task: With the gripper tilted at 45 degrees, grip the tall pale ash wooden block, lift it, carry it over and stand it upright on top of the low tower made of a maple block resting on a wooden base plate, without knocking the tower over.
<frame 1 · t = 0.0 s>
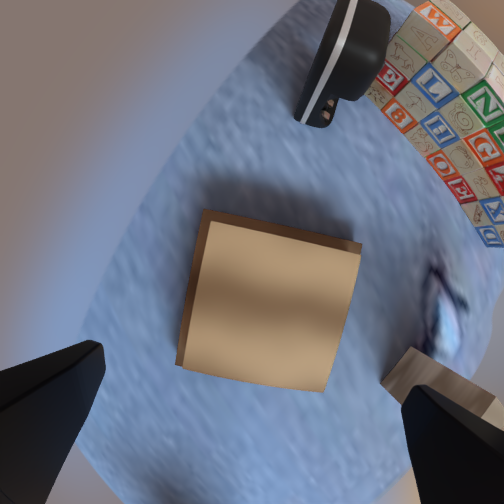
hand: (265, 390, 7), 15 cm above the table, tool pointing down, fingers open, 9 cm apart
stack of blocks: (444, 152, 23), on the table
ash block: (408, 375, 23), on the table
battery charger: (322, 100, 22), on the table
maple block: (268, 307, 21), point 2 cm above the table, touching wooden base plate
wooden base plate: (266, 301, 23), on the table, touching maple block
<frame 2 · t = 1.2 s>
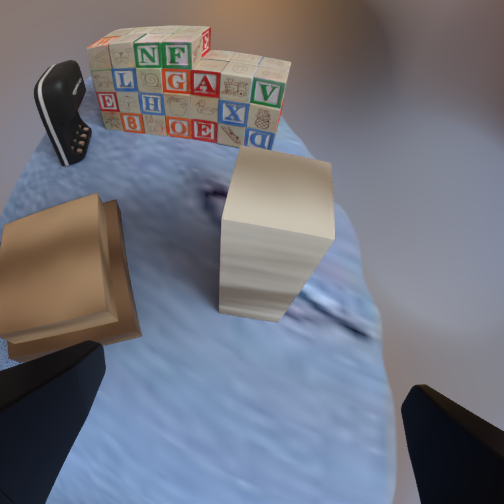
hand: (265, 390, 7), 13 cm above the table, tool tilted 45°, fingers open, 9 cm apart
stack of blocks: (188, 125, 32), on the table
ash block: (252, 290, 23), on the table
battery charger: (81, 148, 29), on the table
maple block: (56, 275, 19), point 2 cm above the table, touching wooden base plate
wooden base plate: (69, 287, 21), on the table, touching maple block
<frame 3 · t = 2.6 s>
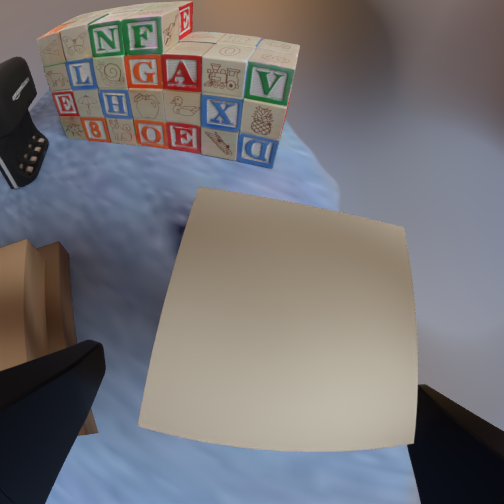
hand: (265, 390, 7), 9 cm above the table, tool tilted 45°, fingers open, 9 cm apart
stack of blocks: (166, 130, 25), on the table
ash block: (243, 377, 15), on the table
battery charger: (35, 165, 21), on the table
wooden base plate: (15, 353, 14), on the table
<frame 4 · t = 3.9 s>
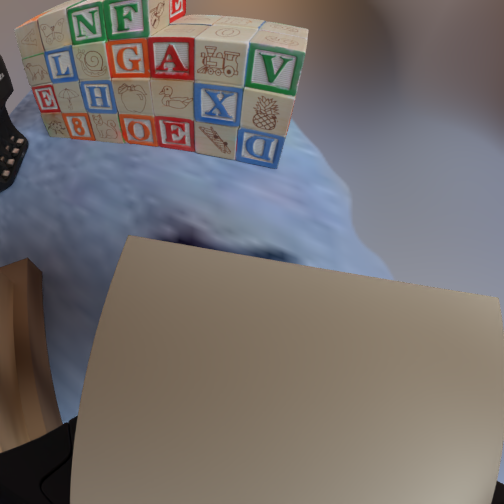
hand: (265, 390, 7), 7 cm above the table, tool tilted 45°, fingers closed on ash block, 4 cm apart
stack of blocks: (157, 126, 22), on the table
ash block: (239, 422, 12), on the table, touching gripper
battery charger: (14, 168, 18), on the table
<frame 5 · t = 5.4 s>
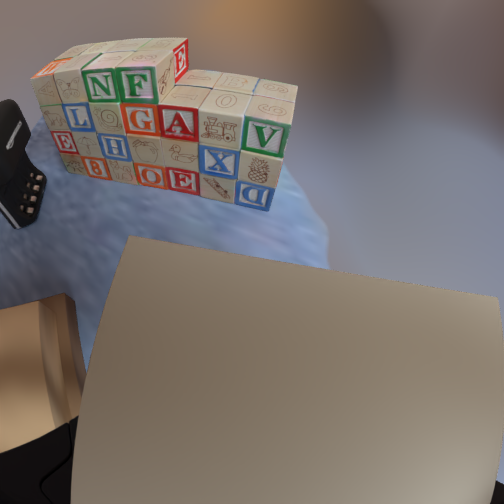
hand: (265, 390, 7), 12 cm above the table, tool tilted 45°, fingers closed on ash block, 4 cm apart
stack of blocks: (166, 167, 26), on the table
ash block: (239, 421, 12), point 5 cm above the table, touching gripper
battery charger: (35, 202, 23), on the table
maple block: (13, 388, 13), point 2 cm above the table, touching wooden base plate
wooden base plate: (31, 389, 15), on the table, touching maple block
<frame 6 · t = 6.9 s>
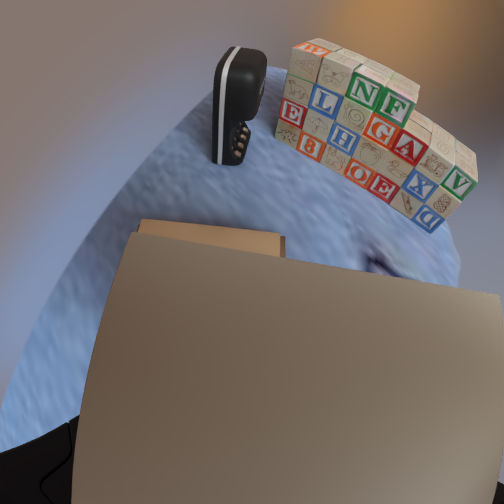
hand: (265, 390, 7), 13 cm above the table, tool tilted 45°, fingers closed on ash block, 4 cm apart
stack of blocks: (361, 170, 31), on the table
ash block: (240, 421, 12), point 7 cm above the table, touching gripper
battery charger: (235, 149, 30), on the table
maple block: (200, 304, 20), point 2 cm above the table, touching wooden base plate
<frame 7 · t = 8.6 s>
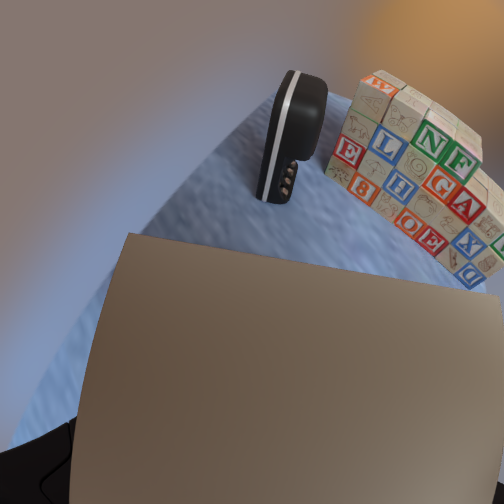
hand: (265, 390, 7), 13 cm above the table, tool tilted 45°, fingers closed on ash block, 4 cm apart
stack of blocks: (409, 217, 29), on the table
ash block: (239, 421, 12), point 7 cm above the table, touching gripper
battery charger: (280, 184, 29), on the table
when the fingers open (12 cm above the table, at t = 9.8 s): ash block drops 1 cm, point 4 cm above the table.
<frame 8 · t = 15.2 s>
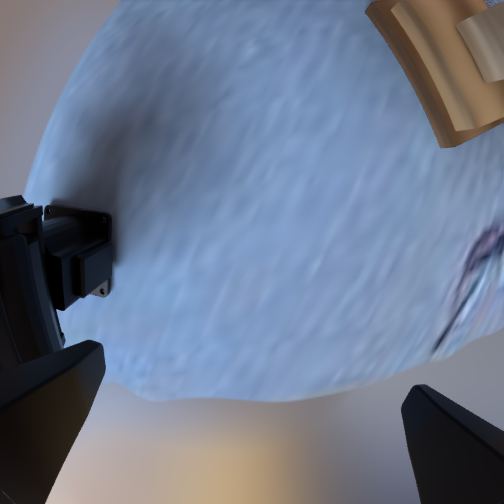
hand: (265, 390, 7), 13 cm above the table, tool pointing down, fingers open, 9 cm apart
ash block: (485, 51, 11), point 4 cm above the table
maple block: (465, 58, 13), point 2 cm above the table, touching wooden base plate
wooden base plate: (449, 64, 16), on the table, touching maple block
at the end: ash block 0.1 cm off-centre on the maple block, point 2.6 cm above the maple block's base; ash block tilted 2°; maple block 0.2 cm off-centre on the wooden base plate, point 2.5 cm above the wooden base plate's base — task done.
